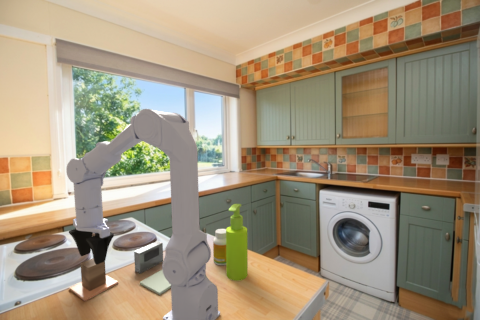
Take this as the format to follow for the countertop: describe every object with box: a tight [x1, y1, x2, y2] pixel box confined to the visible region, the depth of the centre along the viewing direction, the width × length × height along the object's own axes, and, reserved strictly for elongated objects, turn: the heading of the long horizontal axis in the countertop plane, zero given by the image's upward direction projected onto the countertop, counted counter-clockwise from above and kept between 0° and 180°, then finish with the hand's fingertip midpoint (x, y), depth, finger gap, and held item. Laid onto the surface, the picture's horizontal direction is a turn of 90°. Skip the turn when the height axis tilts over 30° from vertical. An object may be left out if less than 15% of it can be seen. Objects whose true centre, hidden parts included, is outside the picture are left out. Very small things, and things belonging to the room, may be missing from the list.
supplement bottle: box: [212, 228, 226, 266], centre depth 73 cm, size 5×5×10 cm
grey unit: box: [133, 240, 164, 275], centre depth 71 cm, size 3×8×6 cm, turn 147°
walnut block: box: [80, 258, 107, 291], centre depth 61 cm, size 4×4×6 cm
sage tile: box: [139, 269, 171, 296], centre depth 64 cm, size 8×8×1 cm
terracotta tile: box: [69, 274, 119, 302], centre depth 61 cm, size 8×8×1 cm
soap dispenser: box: [225, 203, 249, 282], centre depth 65 cm, size 6×7×20 cm
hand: (92, 258), depth 61 cm, fingers open, 7 cm apart
